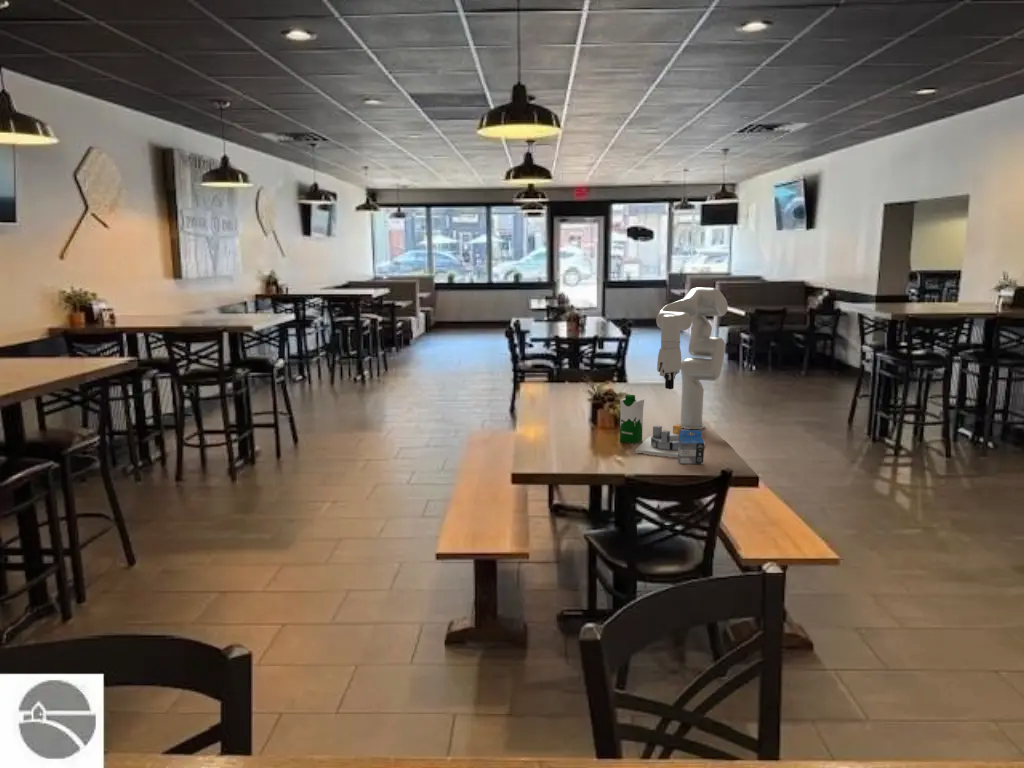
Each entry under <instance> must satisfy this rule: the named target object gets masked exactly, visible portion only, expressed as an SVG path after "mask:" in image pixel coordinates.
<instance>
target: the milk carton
mask: <svg viewBox="0 0 1024 768" xmlns="http://www.w3.org/2000/svg"><path fill="white" fill-rule="evenodd" d="M619 404H620V421H619V422H620V424H619V442H620V443H625V442H626V444H632V443H633V445H636V444H638V443H641V442H642V441H643V429H644V428H643V427H644V425H643V424H644V422H643V421H644V405H645V398H639V397H638V398H637V397H636V394H626V395H625V397H624V398H622V399H620V400H619Z"/></svg>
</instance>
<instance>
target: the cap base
mask: <svg viewBox="0 0 1024 768" xmlns="http://www.w3.org/2000/svg"><path fill="white" fill-rule="evenodd" d="M652 436H653V435H652ZM652 436H651V435H649V436H648V437H647V438H646V439H645V440H644V441H643V442H642V443H640V445H638V447H637V448H635V451H634V452H635V454H638V453H643V454H642V455H647V454H649V455H648V456H655V455H657V456H658V457H664V456H668V457H667V458H672V457H678V450H673V451H672V450H664V449H658V448H655V447H654V446H652V445H651V437H652ZM670 441H679V435H678V434H675V433H673V432H670ZM705 445H706V442H705V441H704V447H705Z"/></svg>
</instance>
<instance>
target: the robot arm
mask: <svg viewBox="0 0 1024 768" xmlns="http://www.w3.org/2000/svg"><path fill="white" fill-rule="evenodd" d="M728 305H729V304H728V301H727V299H726V297H725V296H724V294H723V293H722V292H721V291H720V290H719V289H718V288H716V287H693V288H691V289H689V291H688V292H686V294H685V295H684V296H683V297H682V299H679V300H677V301H674V302H671V303H668V304H666V305H664V306H663V307H662V308H661V310H659V312H658V314H657V316H656V320H655V321H656V325H657V327H658V328H659V329H660V330H661V332H660V333H661V334H660V348H659V350H658V355H657V365H656V366H657V367H656V371H657V372H658V373H659V377H663V379H664V380H665V381H664V382H665V383H664V388H665V389H667V390H673V389H674V388H675V383H674V382H675V379H676V375H678V374H679V373H680V374H681V405H680V421H679V422H677V423H676V425H681V429H683V428H684V429H685V430H689V429H699V430H704V429H706V424H705V423H704V422H703V415H704V414H703V413H704V412H703V411H704V410H703V409H704V387H703V385H702V383H701V380H702V381H710V382H714V381H717V380H718V379H719V378H720V376H721V373H722V367H723V363H724V358H725V353H726V343H725V340H724V339H723V338H721V337H720V336H719V337H718V336H712V330H713V328H712V324H711V323H710V321H709V320H708V319H707V317H723V316H725V315H726V314H727V312H728V309H729V308H728V307H729V306H728ZM691 326H692V331H691V334H690V338H689V343H688V344H689V345H688V353H689V355H690V356H692V357H687V358H684V359H683V360H682V349H681V331H687V330H689V328H691ZM703 428H704V429H703Z"/></svg>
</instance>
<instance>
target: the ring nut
mask: <svg viewBox="0 0 1024 768" xmlns="http://www.w3.org/2000/svg"><path fill="white" fill-rule="evenodd" d="M672 426H673V427H672V433H675V434H678V435H679V430H686V429H683V428H681V425H677V424H673V425H672ZM670 433H671V430H666V429H665V430H663V426H661V425H654V426H652V437H651V445H652V446H654V447H655V448H658V449H664V450H672V451H673V450H678V445H679V441H670ZM687 435H691V432H690V433H687Z"/></svg>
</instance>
